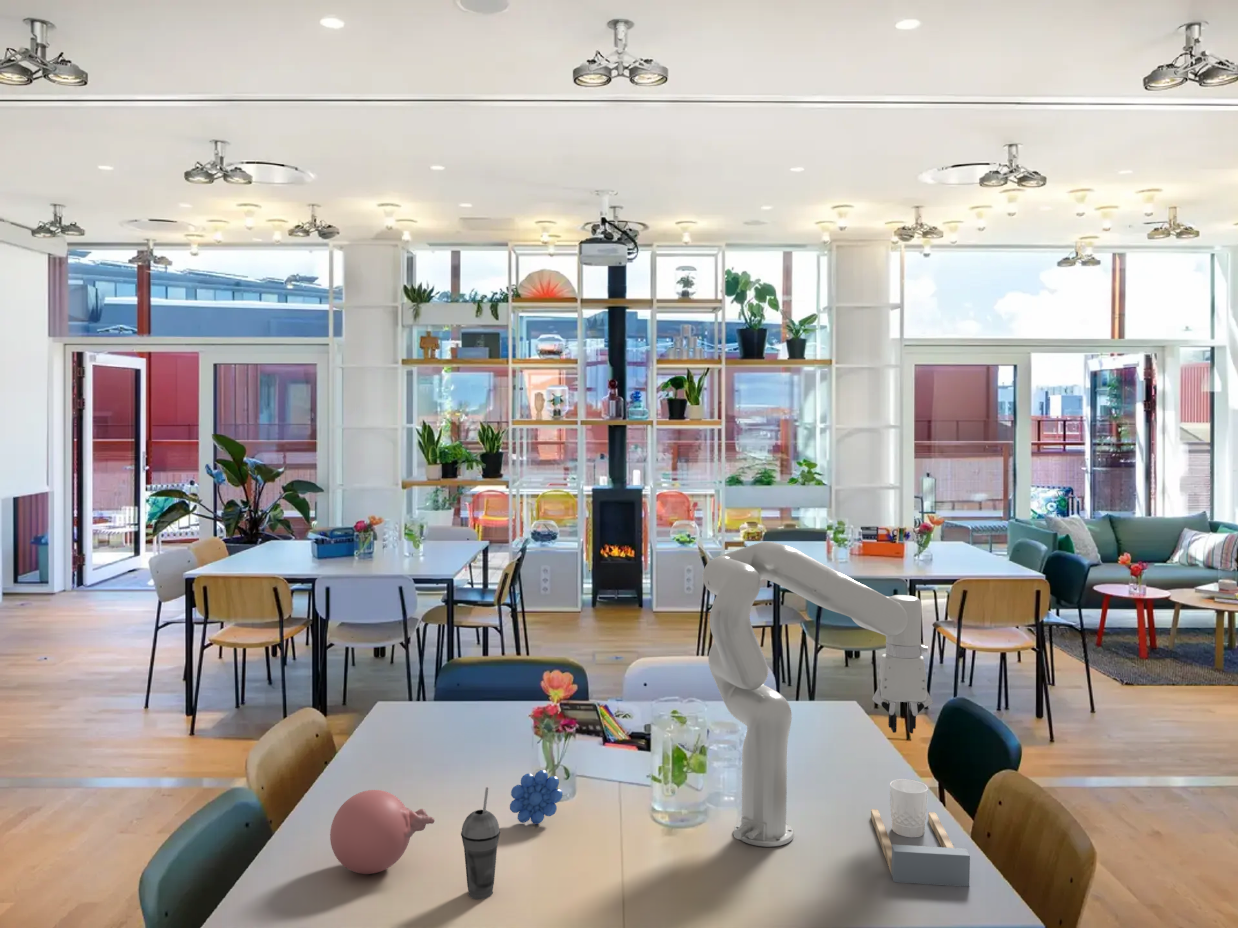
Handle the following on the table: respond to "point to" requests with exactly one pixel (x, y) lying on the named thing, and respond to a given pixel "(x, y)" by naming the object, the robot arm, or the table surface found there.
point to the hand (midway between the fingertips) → (901, 730)
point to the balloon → (374, 831)
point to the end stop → (930, 865)
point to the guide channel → (885, 839)
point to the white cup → (908, 807)
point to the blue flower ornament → (535, 797)
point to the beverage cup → (480, 851)
